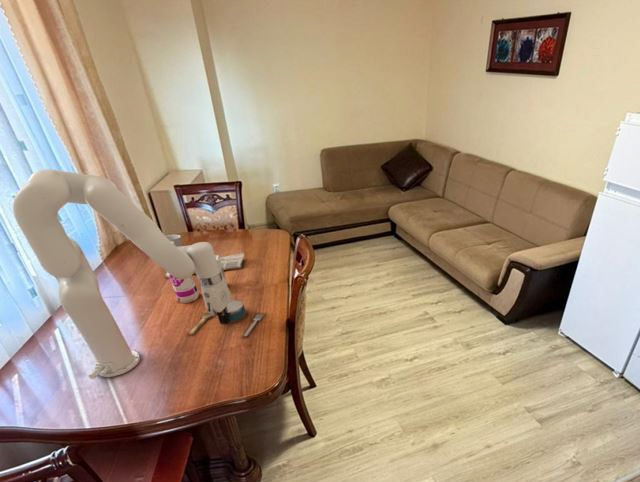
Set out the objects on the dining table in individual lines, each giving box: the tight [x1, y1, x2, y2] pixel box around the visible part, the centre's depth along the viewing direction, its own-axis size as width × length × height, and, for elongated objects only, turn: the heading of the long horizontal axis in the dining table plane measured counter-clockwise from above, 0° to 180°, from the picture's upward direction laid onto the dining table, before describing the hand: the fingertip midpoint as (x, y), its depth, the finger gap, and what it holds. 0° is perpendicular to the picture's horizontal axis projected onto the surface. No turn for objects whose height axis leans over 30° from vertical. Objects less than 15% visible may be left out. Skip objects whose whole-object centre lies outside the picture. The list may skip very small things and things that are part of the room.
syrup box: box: [215, 254, 228, 285], centre depth 165 cm, size 6×6×14 cm
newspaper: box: [165, 252, 245, 279], centre depth 187 cm, size 35×12×4 cm, turn 101°
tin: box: [227, 300, 247, 324], centre depth 148 cm, size 9×9×5 cm
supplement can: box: [166, 271, 200, 304], centre depth 159 cm, size 8×8×15 cm
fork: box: [243, 313, 265, 338], centre depth 143 cm, size 14×3×1 cm, turn 172°
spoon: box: [188, 311, 213, 336], centre depth 146 cm, size 14×4×1 cm, turn 172°
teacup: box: [165, 234, 184, 247], centre depth 204 cm, size 14×11×8 cm
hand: (225, 322), depth 143 cm, fingers closed
